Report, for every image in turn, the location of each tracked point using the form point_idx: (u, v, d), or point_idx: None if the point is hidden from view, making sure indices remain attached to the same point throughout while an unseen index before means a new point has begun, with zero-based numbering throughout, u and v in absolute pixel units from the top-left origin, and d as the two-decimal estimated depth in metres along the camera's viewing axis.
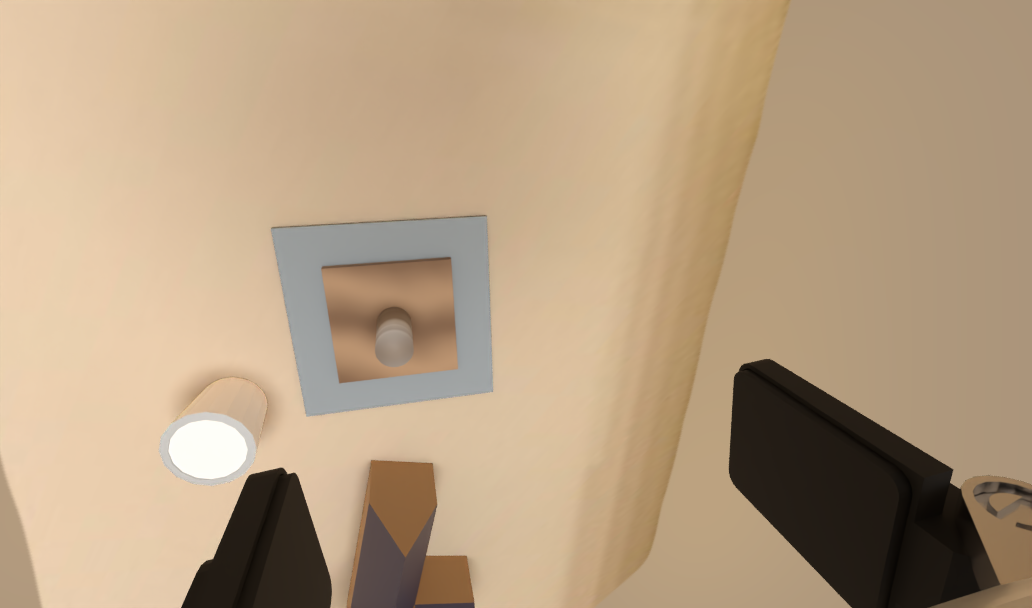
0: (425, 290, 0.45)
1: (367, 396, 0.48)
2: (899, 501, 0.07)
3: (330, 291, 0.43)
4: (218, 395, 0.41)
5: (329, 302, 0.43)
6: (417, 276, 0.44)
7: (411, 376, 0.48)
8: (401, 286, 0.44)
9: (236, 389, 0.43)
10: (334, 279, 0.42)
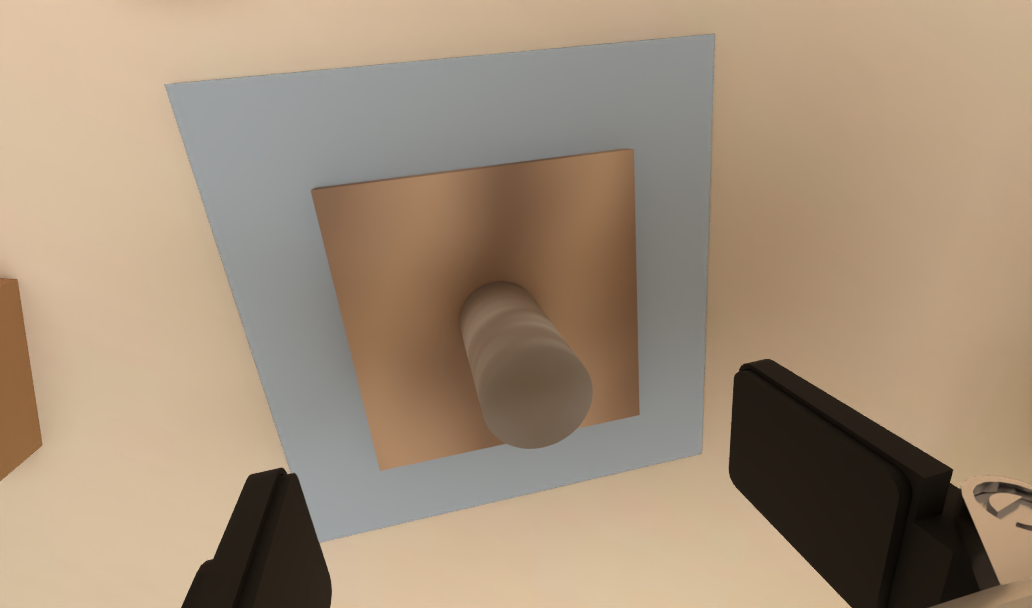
0: None
1: (264, 262, 0.17)
2: (899, 501, 0.07)
3: (579, 170, 0.17)
4: None
5: (552, 166, 0.17)
6: (607, 357, 0.20)
7: (341, 365, 0.19)
8: (586, 326, 0.19)
9: None
10: (607, 179, 0.18)
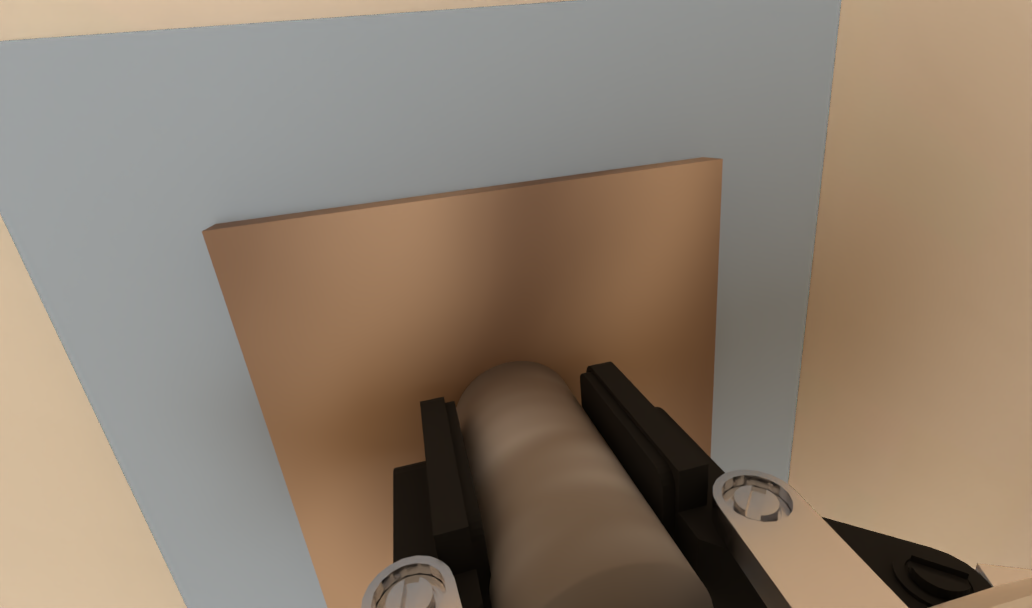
0: None
1: (137, 344, 0.10)
2: (663, 493, 0.08)
3: (639, 191, 0.11)
4: None
5: (599, 186, 0.11)
6: None
7: (273, 488, 0.12)
8: None
9: None
10: (680, 204, 0.11)
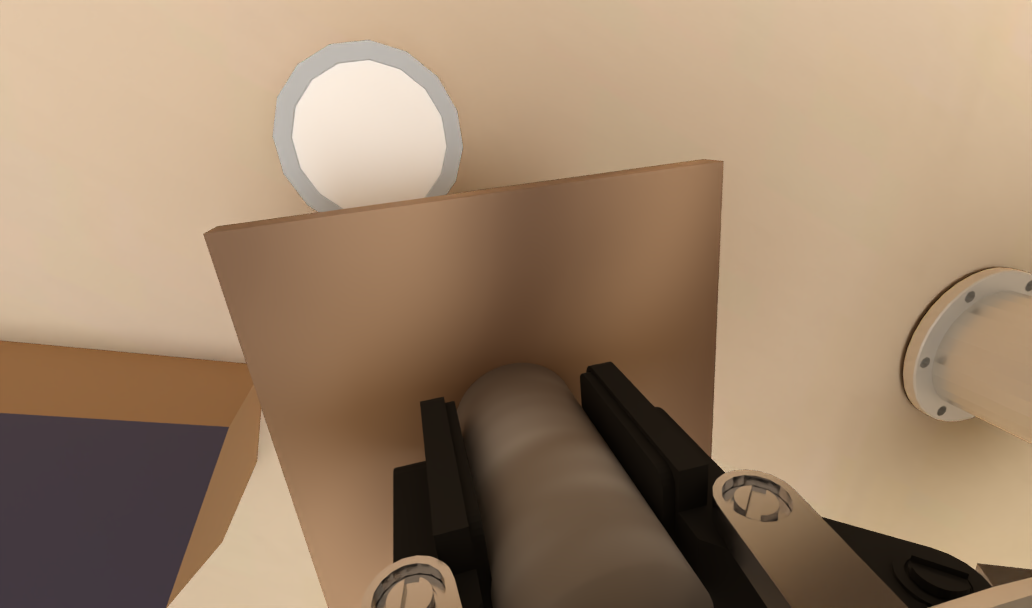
0: None
1: None
2: (663, 493, 0.08)
3: (640, 194, 0.11)
4: None
5: (599, 188, 0.11)
6: None
7: None
8: None
9: None
10: (681, 206, 0.11)
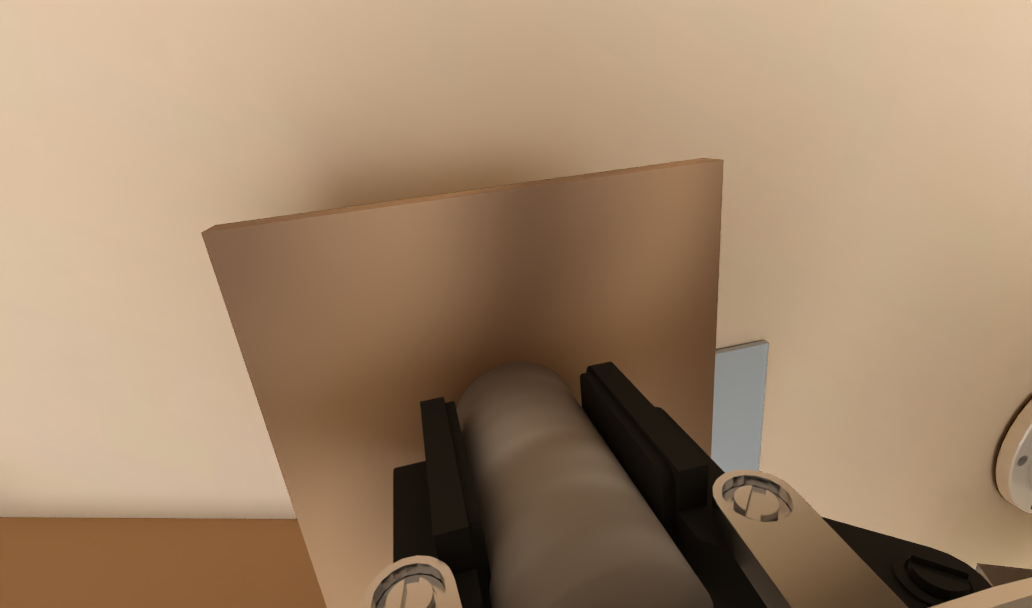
0: None
1: None
2: (663, 493, 0.08)
3: (640, 193, 0.11)
4: None
5: (599, 187, 0.11)
6: None
7: None
8: None
9: None
10: (681, 205, 0.11)
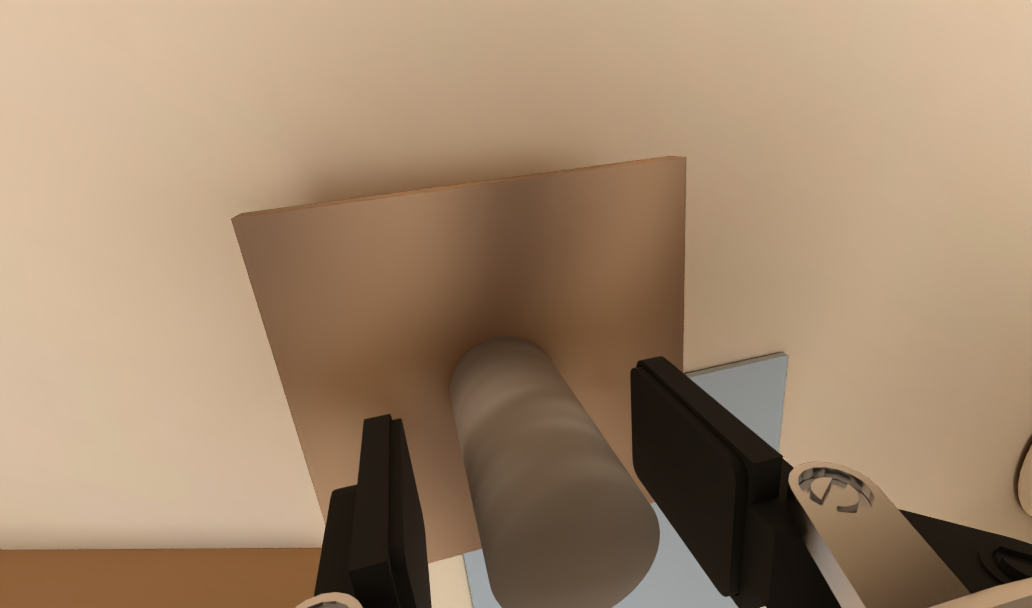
0: None
1: None
2: (736, 485, 0.08)
3: (612, 186, 0.13)
4: None
5: (576, 180, 0.12)
6: None
7: None
8: (618, 390, 0.15)
9: None
10: (649, 197, 0.13)
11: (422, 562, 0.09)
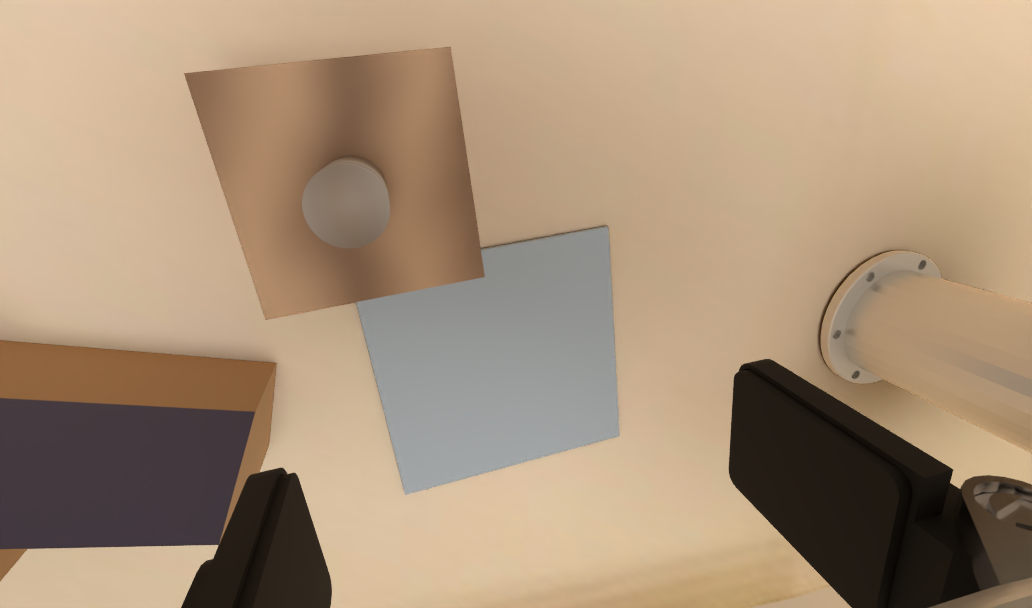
0: (425, 241, 0.25)
1: (388, 350, 0.34)
2: (899, 501, 0.07)
3: (406, 63, 0.22)
4: None
5: (383, 58, 0.22)
6: (450, 224, 0.25)
7: (423, 397, 0.36)
8: (429, 197, 0.24)
9: None
10: (431, 71, 0.22)
11: None
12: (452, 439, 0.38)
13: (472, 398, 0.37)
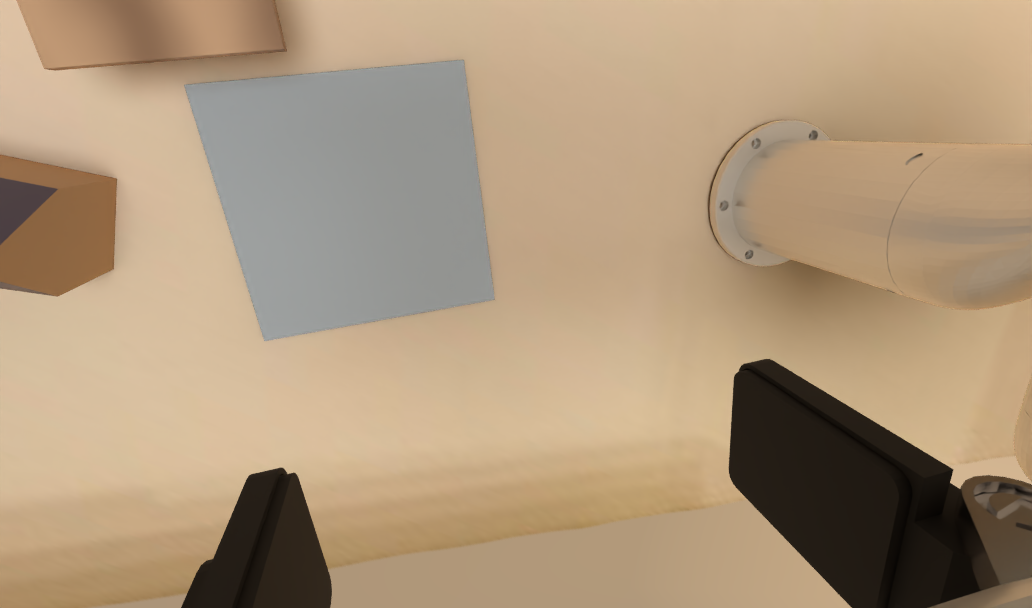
0: None
1: (233, 174, 0.34)
2: (899, 501, 0.07)
3: None
4: None
5: None
6: None
7: (275, 232, 0.35)
8: None
9: None
10: None
11: None
12: (311, 283, 0.37)
13: (329, 239, 0.36)
